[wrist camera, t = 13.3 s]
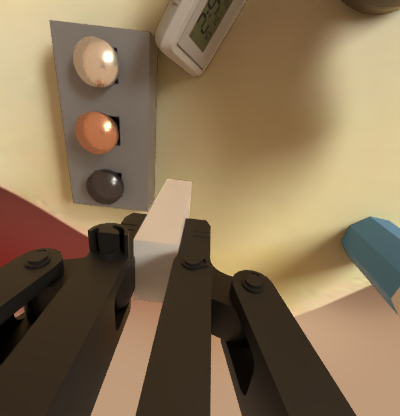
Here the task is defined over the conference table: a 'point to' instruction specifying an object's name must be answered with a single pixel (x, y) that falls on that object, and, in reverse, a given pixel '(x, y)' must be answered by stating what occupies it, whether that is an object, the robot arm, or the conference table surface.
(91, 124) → the plunger terracotta
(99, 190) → the plunger black
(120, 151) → the panel
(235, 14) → the digital clock
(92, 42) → the plunger ivory
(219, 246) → the conference table surface
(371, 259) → the water bottle
